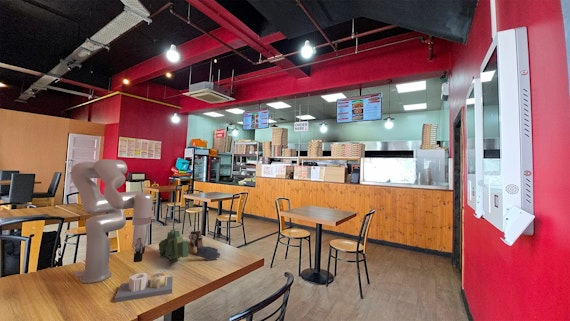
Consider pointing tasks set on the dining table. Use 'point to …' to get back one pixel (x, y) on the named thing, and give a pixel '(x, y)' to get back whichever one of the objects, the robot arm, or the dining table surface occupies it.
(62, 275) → the dining table surface
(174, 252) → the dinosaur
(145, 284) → the loose gear
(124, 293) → the gear board
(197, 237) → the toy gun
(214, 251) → the stone
